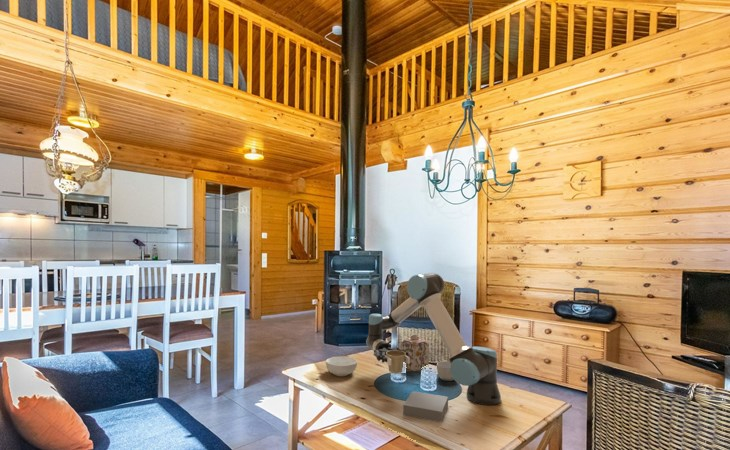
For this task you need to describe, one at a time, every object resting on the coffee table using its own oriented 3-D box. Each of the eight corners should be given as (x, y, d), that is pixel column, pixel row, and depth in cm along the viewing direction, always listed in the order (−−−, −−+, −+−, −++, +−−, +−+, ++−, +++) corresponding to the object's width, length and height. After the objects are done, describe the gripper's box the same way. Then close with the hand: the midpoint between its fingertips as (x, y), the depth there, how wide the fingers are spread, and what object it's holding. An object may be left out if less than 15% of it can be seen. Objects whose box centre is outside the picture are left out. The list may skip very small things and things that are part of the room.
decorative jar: (400, 366, 221) (400, 334, 221) (414, 362, 228) (415, 332, 228) (414, 372, 211) (415, 339, 212) (429, 368, 218) (429, 336, 219)
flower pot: (404, 368, 185) (404, 350, 186) (407, 374, 176) (407, 355, 176) (384, 368, 185) (385, 350, 185) (386, 375, 176) (386, 356, 176)
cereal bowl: (363, 374, 206) (363, 361, 206) (339, 381, 195) (339, 367, 195) (343, 366, 218) (343, 354, 219) (319, 373, 207) (319, 359, 207)
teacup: (457, 383, 195) (458, 367, 195) (436, 381, 197) (436, 366, 197) (456, 374, 209) (457, 359, 209) (436, 372, 211) (436, 358, 211)
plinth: (447, 406, 168) (448, 396, 168) (441, 421, 153) (441, 411, 153) (412, 400, 174) (412, 391, 174) (403, 414, 159) (403, 405, 159)
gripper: (400, 354, 201) (420, 367, 179) (362, 357, 194) (378, 372, 173) (400, 339, 201) (420, 351, 180) (362, 342, 194) (378, 355, 173)
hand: (399, 361), depth 176 cm, fingers closed on flower pot, 8 cm apart
